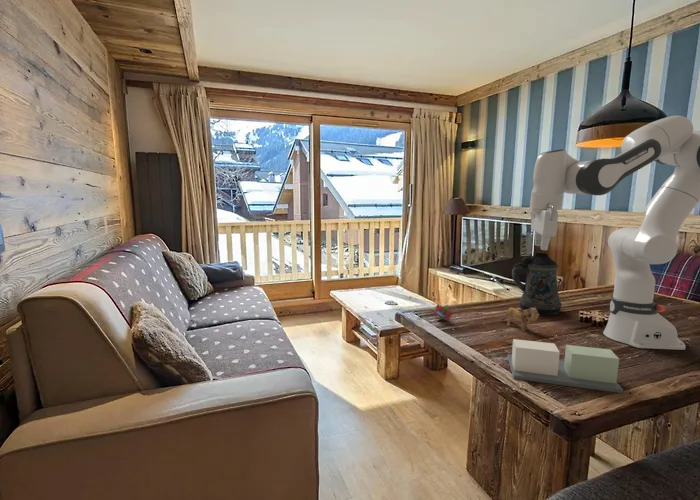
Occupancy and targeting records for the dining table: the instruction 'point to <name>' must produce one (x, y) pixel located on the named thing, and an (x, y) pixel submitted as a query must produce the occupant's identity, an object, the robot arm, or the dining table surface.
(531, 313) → the lion figurine
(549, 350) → the beige eraser-shaped brick
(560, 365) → the slate board
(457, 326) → the dining table surface
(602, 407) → the dining table surface
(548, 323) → the dining table surface
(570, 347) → the pale green prism
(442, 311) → the geometric puzzle
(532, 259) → the beer stein
